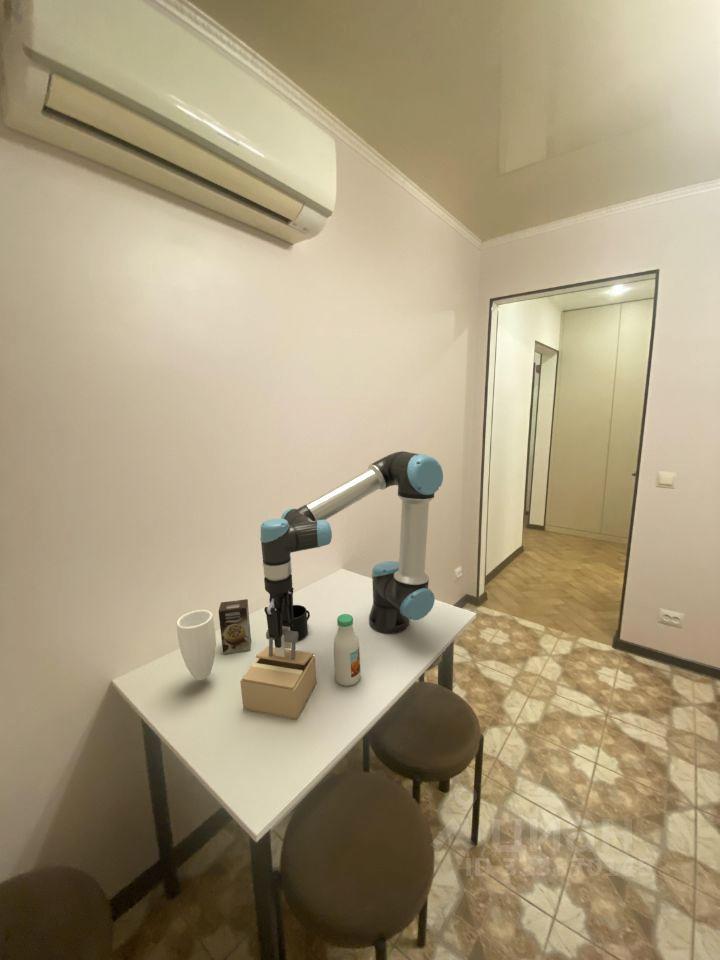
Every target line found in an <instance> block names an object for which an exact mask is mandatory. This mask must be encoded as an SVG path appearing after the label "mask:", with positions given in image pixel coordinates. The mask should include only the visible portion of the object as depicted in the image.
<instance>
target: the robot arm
mask: <svg viewBox="0 0 720 960" xmlns="http://www.w3.org/2000/svg"><path fill="white" fill-rule="evenodd" d="M443 480H444V472H443V469H442V465H441V464H440V462H438V461H437V459H435V458H434V457H432V456H429V455H426V454H423V453H415V452H408V451H402V450H401V451H396V452H393V453H390V454H388V455H386V456H384V457H382V458H380V459H378V460H376V461H374V462H373V463H371V464H369V465H368V467H367V469H366V470H364V471H363V472H361V473H359V474H357V475H355V476H353V477H352V478H351V479H348V480H347V481H344V482H343V483H341V484H340V485H337V486H336V487H334V488H332V489H331V490H329V491H328V492H326V493H323V494H322V495H320V496H318V497H317V498H315V499H313V500H311V501H309V502H308V503H306V504H304V505H302V506H300V507H299V508H289V509H285V511H284V512H283V513H282V514H281V517H280V518H270V519H267V520H265V521H263V522H262V523H261V525H260V543H261V555H262V567H263V576H264V578H263V579H264V581H263V582H264V590H265V591H266V592H267V593H268V594H269V601H268V602H269V605H268V606H265V607H264V613H265V615H266V625H267V630H268V632H269V638H274V640H273V642H274V647H275V654H276V656H280V657H285V656H286V655H285V649H288V650H291V647H292V643H291V642H285V641H284V635H283V634H282V630H289V631H290V626H293V623H292V622H291V621H292V620H293V605H294V587H293V575H292V569H293V568H292V557H291V553H296V552H300V551H306V550H307V551H308V550H312V549H319V548H321V547H324V546H328V545H330V544H331V543H332V538H333V532H332V527H331V524H330V523H329V521H327V520H328V519H330V518H332V517H333V516H335V515H336V514H338V513H340V512H342V511H343V510H345V509H347V508H348V507H350V506H352V505H354V504H355V503H357V502H359V501H360V500H362V499H364V498H366V497H367V496H369V495H371V494H372V493H374V492H376V491H377V490H381V491H383V490H385V489H387V488H389V487H392V486H397V496H398V498H399V499H400V500H401V516H400V534H399V536H400V537H399V539H400V540H399V554H398V555H399V557H398V561H394V560H393V561H392V560H391V561H390V560H389V561H383V562H379V563H377V564H375V565H374V566H373V567H372V570H371V571H372V572H371V578H372V579H371V580H372V581H371V582H372V601H373V602H372V605H371V606H372V607H371V608H370V612H369V615H368V624H369V627H370V628H372V629H373V630H374V631H376V632H379V633H383V634H397V633H401V632H403V631H405V630H406V629H407V628H408V627H409V626H410V621H419V620H422V619H424V618H425V617H426V616H427V615H429V613H430V612H431V610H433V608H434V605H435V601H436V599H435V595H434V594H435V593H433V591H432V589H430V588H429V584H430V583H429V581H430V577H429V576H428V574H427V573H426V571H425V569H426V558H427V557H426V556H427V555H426V553H427V540H428V523H429V522H428V521H429V507H430V502H431V501H432V500H434V498H435V493H437V491H438V490H439V488H440V487H442V484H443ZM282 625H283V626H282Z"/></svg>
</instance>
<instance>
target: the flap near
mask: <svg viewBox="0 0 720 960" xmlns="http://www.w3.org/2000/svg"><path fill="white" fill-rule="evenodd" d="M282 634H283V635H284V641H285V642H291V648H290V649H288V648H285V655H286V656H285V657H280V656H276V654H275V646H274V638H269V632H268V629H267V630H266V633H265V637H266V640H268V646H266V647H265V648H264V649H262V650H261V651H260V652H259V653H258V654H257V655H256V657H255V658H257V659H258V658H262V659H268V660H275V661H281V662H287V663H294V664H300V665H305V663H306V662H307V661H308V660H309V659H310V658H311V657H312V656H314V653H313V652H308V651H301V650H296V643H297V642H298V641H297V640H298V632H296V631H289V630H282Z"/></svg>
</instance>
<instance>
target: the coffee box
mask: <svg viewBox="0 0 720 960" xmlns="http://www.w3.org/2000/svg"><path fill="white" fill-rule="evenodd" d="M248 601H249V599H247V598H246V599H237V600H230V601H222V602H220V604H219V609H218V619H219V628H220V636H221V637H220V639H221V648H222V655H229V654H236V653H242V652H249V651H251V649H252V648H251V647H252V633H251V623H250V613H249V602H248Z"/></svg>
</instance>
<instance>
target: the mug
mask: <svg viewBox="0 0 720 960" xmlns="http://www.w3.org/2000/svg"><path fill="white" fill-rule="evenodd" d="M310 615H311V614H310V611H309V610H307V608H306V607H305V606H304V605H302V604H293V620H292V621H291V622H292V623H293V626H290V631H296V632H298V640H297V642H298V641H301V640H304V639H305V638H307V636H308V634H309V627H308V626H309V625H308V621H309V619H310V617H311V616H310ZM282 626H283V625H282Z"/></svg>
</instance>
